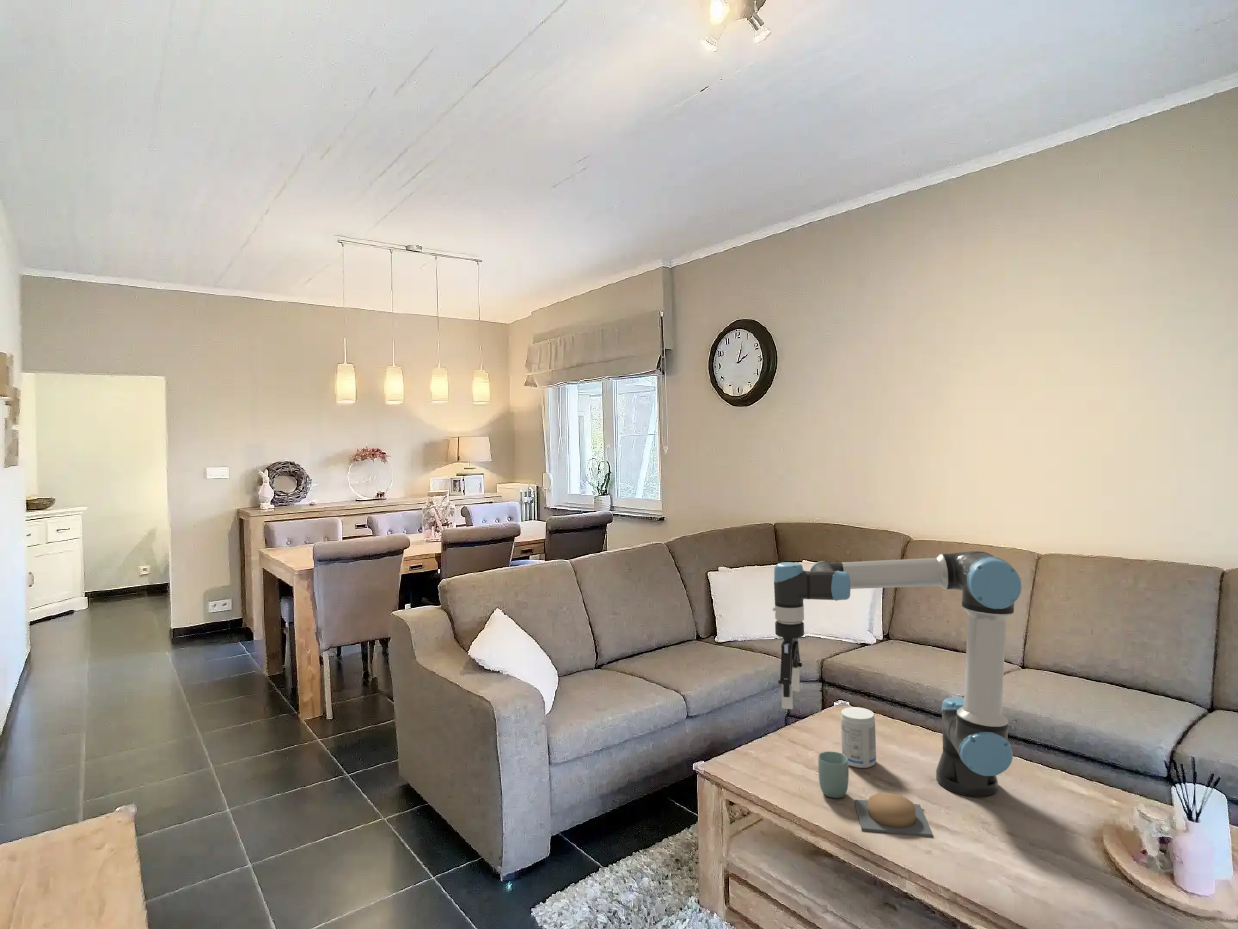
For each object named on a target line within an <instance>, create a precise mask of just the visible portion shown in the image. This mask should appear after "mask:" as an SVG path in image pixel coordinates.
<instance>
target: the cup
mask: <svg viewBox="0 0 1238 929" xmlns="http://www.w3.org/2000/svg"><path fill="white" fill-rule="evenodd" d="M817 760H818V761H817V770H818V783H819V787H820V790H821V792H822V793H823V794H824V795H825V796H826V797H828V798H832V799H840V798H843V797H844V796H845V795H846V794H847V791H848V788H849V778H850V777H849V775H850V774H849V773H850V772H849V766H850V765H848V758H847V757H846V756H845V755H844V754H842V752H839V751H838V752H837V751H822V752H820V753H819V754H818V757H817Z"/></svg>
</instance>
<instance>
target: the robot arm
mask: <svg viewBox="0 0 1238 929" xmlns="http://www.w3.org/2000/svg"><path fill="white" fill-rule="evenodd" d="M773 570H774V571H773V572H774V573H773V590H774V591H773V592H774V607H773V608H772V611H773V612H774V619H775V620H776V621H775V622H774V626H775V627H774V628H775V629H774V630H775V631H774V632H775V635H776V636H777V637H779V638H782V639H783V640H782V643H781V646H780V647H781V649H780V650H781V658H780V677H779V679H778V681H777V682H778V684H779V685H781V708H782V709H785V710H786V709H787V710H794V702H793V701H794V699H793V698H794V697H793V696H794V695H793V693H794V692H799V693H800V691H801V689H800V688H801V687H800V685H801V684H800V682H801V680H800V677H801V676H800V668H802V667H803V663H802V662H801V655H800V648H799V647H800V646H799V638H802V637H804V635H805V623H804V622H803V621H804V620H805V612H804V611H805V605H804V600H817V601H819V600H823V601H826V600H827V601H835V602H836V601H844V600H845V601H846V600H849V599H850V597H851V590H854V589H855V590H858V589H859V590H860V589H885V588H886V589H887V588H914V587H917V588H918V587H941V588H942V589H943V590H956V591H957V590H958V591H961V592H962V594H961V595H962V597H961V608H962V609H963V610H964V612H966V613H967V629H966V649H965V650H966V651H965V652H966V653H965V669H964V670H965V671H964V688H963V689H964V690H963V691H964V693H963V697H962V696H959V697H958V696H956V697H955V696H951V697H946V698H944V700H943V701H942V704H941V709H940V710H941V713H942V714H941V724H942V726H941V727H942V732H941V733H942V753H941V756H940V758H939V761H938V763H937V766H936V770H935V779H936V782H937V783H938V784H939V785H940V786H941V787H942V788H944V789H946V790H948V791H950V792H953V793H955V794H959V795H963V796H969V797H975V798H976V797H981V798H982V797H989V796H992V795H995V794H996V793H997V792H998V790H999V780H998V777H997V776H998V775H1000V774H1002V773H1003V772H1005V771H1007V770H1008V769H1009V767H1010V766H1011V765H1012V764H1013V763H1012V762H1013V759H1014V752H1013V749H1012V746H1011V743H1010V742H1009V741H1008V735H1009V734H1008V732H1009V720H1008V718H1007V717H1006V716H1005V715H1004V713H1003V712H1002V711H1003V697H1004V696H1003V693H1004V675H1005V674H1004V672H1005V671H1004V670H1005V656H1006V654H1005V652H1006V637H1007V636H1006V634H1007V633H1006V632H1007V631H1006V630H1007V619H1009V618H1010V617H1011V616H1013V615H1014V612H1015V602H1017V600H1019V598H1020V595H1021V594H1022V580H1021V578H1020V575H1019V574H1018V572H1017V570H1016V569H1015V568H1014V567H1013V566H1012V565H1011V564H1010V563H1008V562H1007V561H1005V560H1004V559H1001V558H1000V557H996V556H994V555H992V554H991V553H988V552H985V551H979V550H978V551H977V550H971V551H962V552H953V553H940V554H938V556H936V557H929V558H925V557H924V558H907V559H906V558H905V559H890V560H889V559H888V560H887V559H885V560H864V561H863V560H862V561H842V562H829V561H826V560H821V561H817V562H815V563H814V564H812V566H811V567H810V570H804V568H803V564H802V563H799V562H792V561H787V562H786V561H785V562H779V563H777V564H775V566H774V569H773Z"/></svg>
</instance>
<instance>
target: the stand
mask: <svg viewBox="0 0 1238 929" xmlns="http://www.w3.org/2000/svg"><path fill="white" fill-rule="evenodd" d="M854 804H855V808H856V813H857V817H858V821H859V824H860V828H861V829H860V830H861V831H863V832H873V833H884V834H885V833H886V834H897V835H906V836H907V835H909V836H916V837H917V836H920V837H931V838H933V836H934V835H933V832H932V830H931V827H930V826H929V823H928V821H927V818H926V816H925V814H924V811H923V808H922V806H921V804H917V803H914V802H913V801H911V800H910V799H909V798H907V797H905V796H903V795H899V794H894V793H885V792H882V793H875V794H872V795H871V796H869V797H868V799H867V800H866V799H857V798H856V799H854Z"/></svg>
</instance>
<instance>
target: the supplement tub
mask: <svg viewBox="0 0 1238 929" xmlns="http://www.w3.org/2000/svg"><path fill="white" fill-rule="evenodd" d="M840 726H841V728H840V729H841V732H840V734H841V753H842V754H844V755H845V756H846V757H847V758H848V765H849V766H851V767H853V768H857V769H858V768H859V769H868V768H871V767H874V765H876V763H877V745H876V744H877V743H876V719H875V713H874V712H873V711H872V710H870V709H867V708H864V707H859V706H857V707H856V706H853V707H852V706H849V707H845V708H843V709H842V710H841V712H840Z"/></svg>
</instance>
